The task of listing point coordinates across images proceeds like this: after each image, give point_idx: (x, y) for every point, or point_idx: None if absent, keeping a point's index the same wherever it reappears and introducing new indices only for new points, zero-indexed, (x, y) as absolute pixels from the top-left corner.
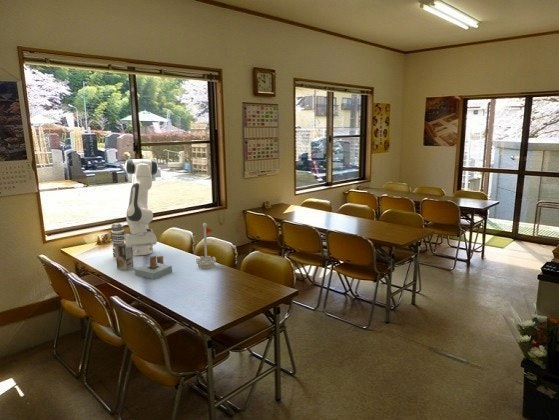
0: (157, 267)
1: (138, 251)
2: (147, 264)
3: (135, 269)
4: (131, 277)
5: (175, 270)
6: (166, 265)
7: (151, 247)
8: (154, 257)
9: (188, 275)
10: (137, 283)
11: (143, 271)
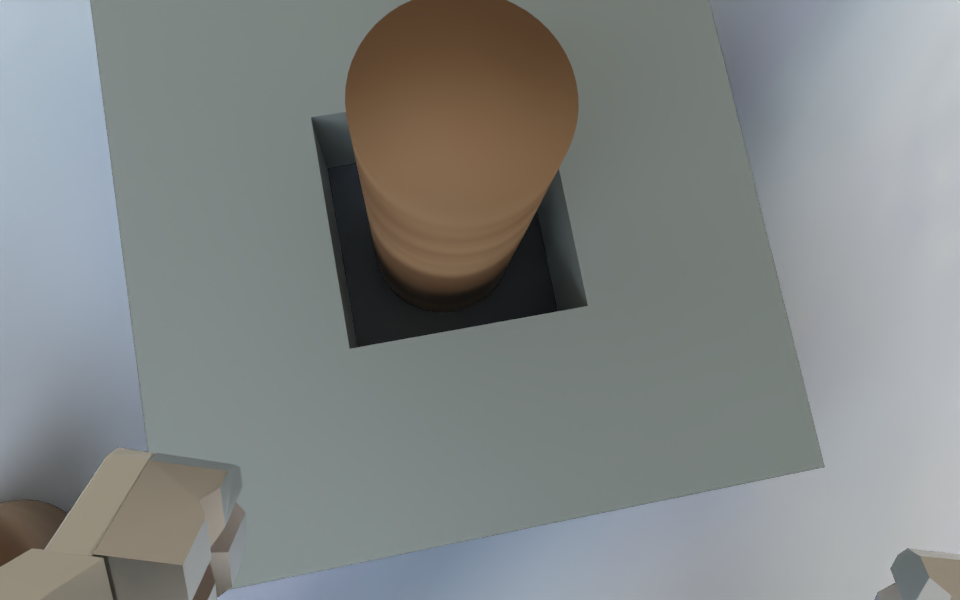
0: (330, 223)
1: (932, 560)
2: (408, 541)
3: (815, 442)
4: (877, 397)
5: (39, 38)
6: (150, 77)
7: (128, 530)
8: (462, 2)
9: None
10: (945, 28)
11: (746, 180)
